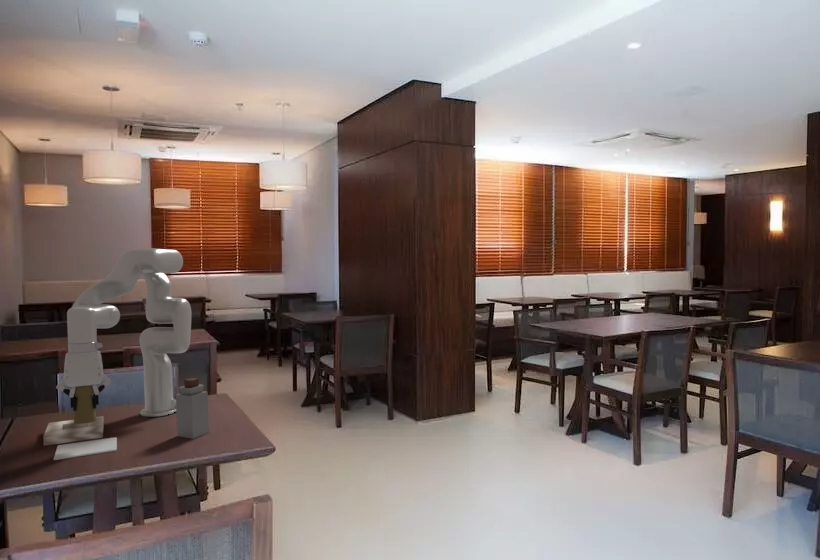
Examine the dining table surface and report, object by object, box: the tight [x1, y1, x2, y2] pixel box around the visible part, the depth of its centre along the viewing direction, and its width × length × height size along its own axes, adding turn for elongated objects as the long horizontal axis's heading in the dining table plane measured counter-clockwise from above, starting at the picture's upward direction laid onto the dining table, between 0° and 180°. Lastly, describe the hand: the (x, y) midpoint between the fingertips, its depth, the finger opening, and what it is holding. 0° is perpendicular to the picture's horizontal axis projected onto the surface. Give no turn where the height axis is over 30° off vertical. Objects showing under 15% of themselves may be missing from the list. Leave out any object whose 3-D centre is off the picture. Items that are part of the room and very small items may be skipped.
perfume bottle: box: [175, 377, 210, 440], centre depth 185 cm, size 7×7×18 cm
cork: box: [73, 386, 97, 424], centre depth 172 cm, size 6×6×11 cm
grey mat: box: [53, 437, 118, 461], centre depth 172 cm, size 16×13×1 cm
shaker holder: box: [42, 415, 105, 447], centre depth 187 cm, size 16×16×3 cm
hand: (85, 408), depth 172 cm, fingers closed on cork, 4 cm apart
